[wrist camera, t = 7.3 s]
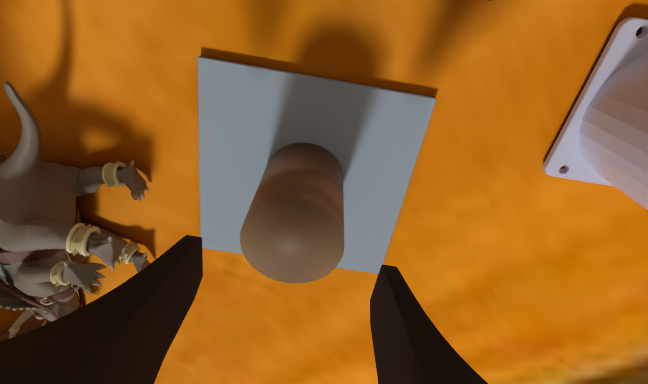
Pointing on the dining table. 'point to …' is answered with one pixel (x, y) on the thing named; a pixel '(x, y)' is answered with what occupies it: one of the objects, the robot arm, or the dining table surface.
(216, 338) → the dining table surface
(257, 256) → the walnut cylinder
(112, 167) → the figurine
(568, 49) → the dining table surface
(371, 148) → the slate-blue mat
